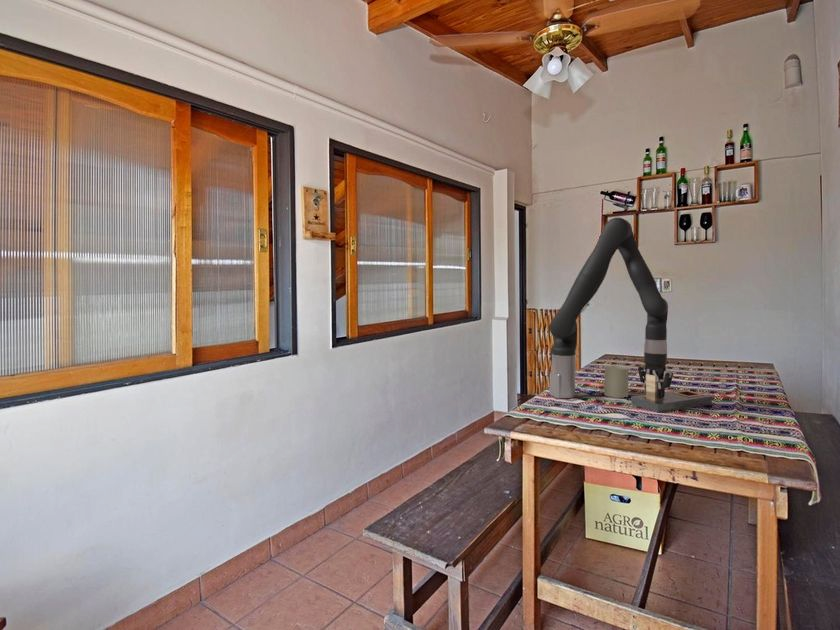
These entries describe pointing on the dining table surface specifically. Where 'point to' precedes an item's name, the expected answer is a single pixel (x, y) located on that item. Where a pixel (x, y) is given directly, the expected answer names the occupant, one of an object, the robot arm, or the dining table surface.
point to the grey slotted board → (672, 401)
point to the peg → (652, 388)
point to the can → (616, 381)
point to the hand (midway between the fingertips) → (654, 396)
